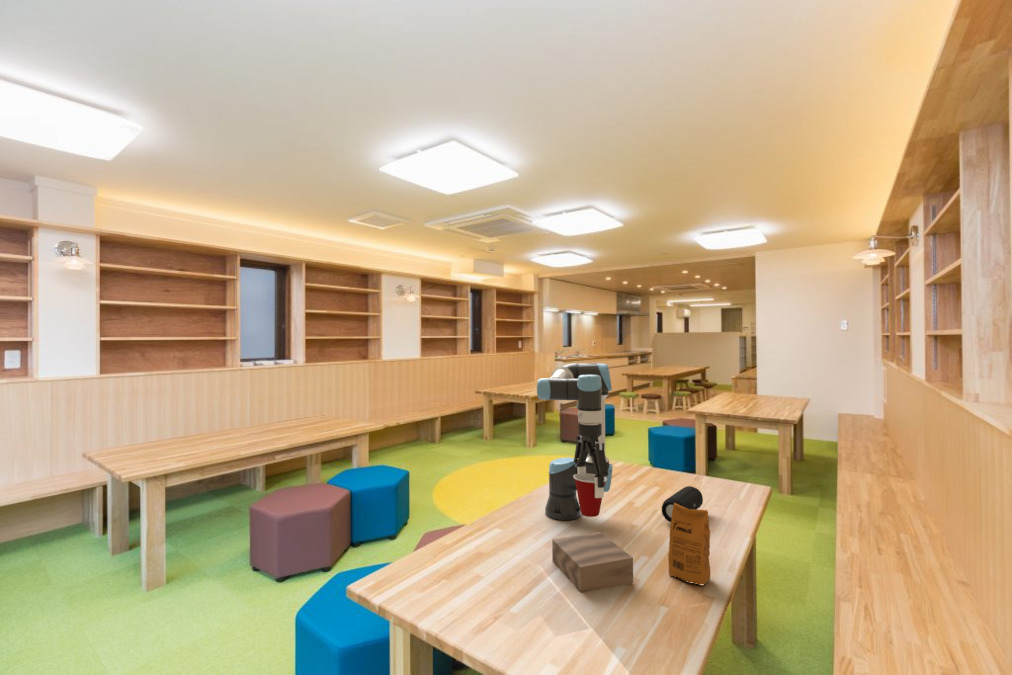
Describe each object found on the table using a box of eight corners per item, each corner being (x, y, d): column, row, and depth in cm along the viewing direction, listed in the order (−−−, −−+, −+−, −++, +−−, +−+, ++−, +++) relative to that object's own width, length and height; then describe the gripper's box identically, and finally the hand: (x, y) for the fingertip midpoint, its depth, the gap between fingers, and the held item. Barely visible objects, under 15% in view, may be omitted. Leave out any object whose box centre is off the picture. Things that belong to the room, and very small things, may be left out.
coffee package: (675, 564, 152) (675, 497, 152) (714, 576, 143) (714, 506, 143) (663, 575, 144) (662, 505, 144) (703, 589, 136) (702, 515, 136)
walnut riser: (552, 563, 153) (552, 539, 153) (599, 555, 158) (599, 531, 158) (580, 594, 134) (580, 567, 134) (633, 583, 139) (632, 557, 139)
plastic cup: (613, 512, 146) (613, 475, 147) (596, 522, 138) (596, 483, 138) (584, 505, 154) (584, 469, 154) (566, 514, 145) (566, 476, 146)
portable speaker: (683, 528, 181) (683, 503, 181) (659, 521, 188) (659, 497, 188) (704, 510, 200) (704, 487, 200) (682, 504, 207) (681, 482, 207)
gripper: (563, 418, 156) (563, 482, 156) (597, 430, 134) (598, 505, 134) (583, 416, 159) (583, 480, 158) (619, 428, 137) (620, 502, 136)
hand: (590, 491), depth 146 cm, fingers closed on plastic cup, 11 cm apart
